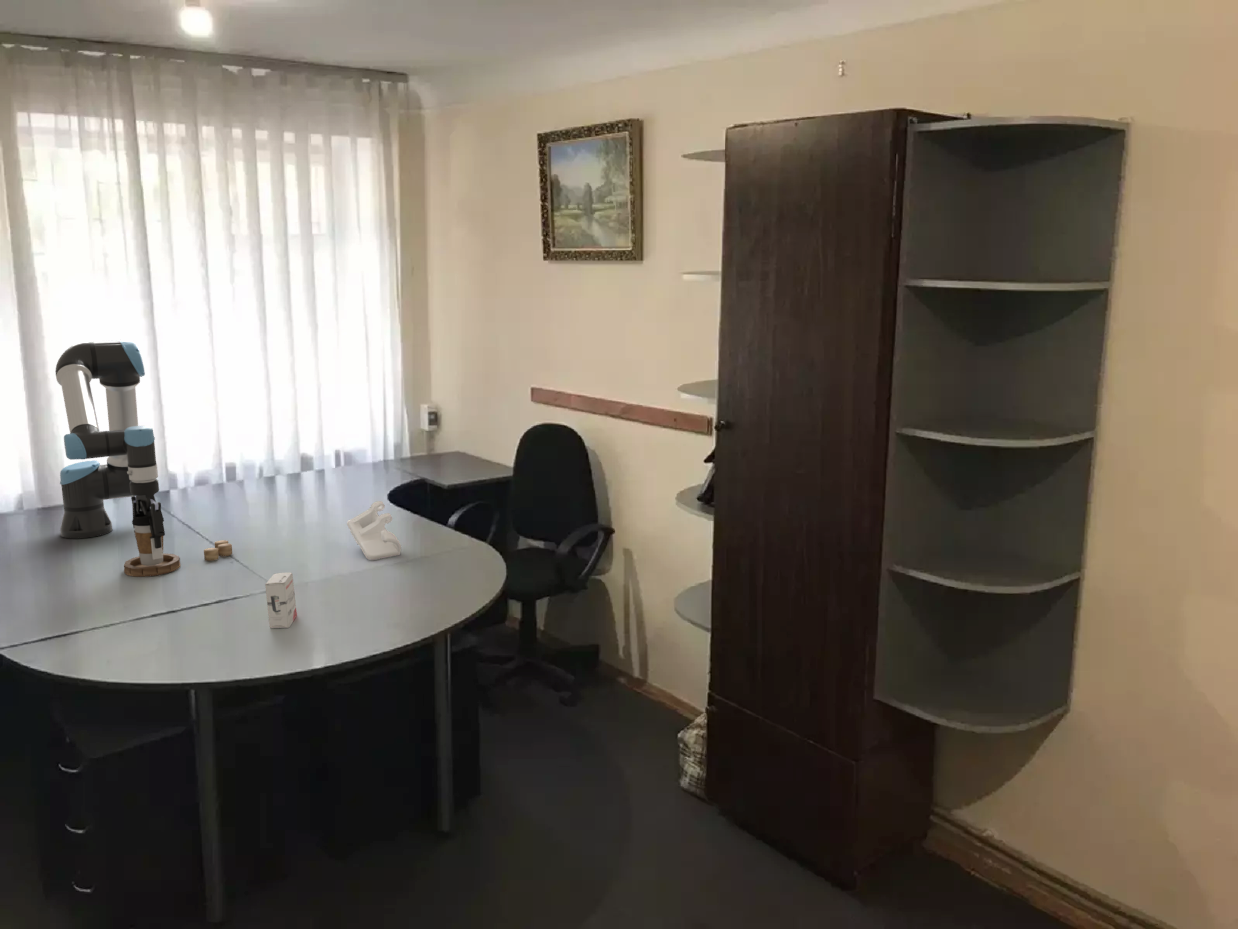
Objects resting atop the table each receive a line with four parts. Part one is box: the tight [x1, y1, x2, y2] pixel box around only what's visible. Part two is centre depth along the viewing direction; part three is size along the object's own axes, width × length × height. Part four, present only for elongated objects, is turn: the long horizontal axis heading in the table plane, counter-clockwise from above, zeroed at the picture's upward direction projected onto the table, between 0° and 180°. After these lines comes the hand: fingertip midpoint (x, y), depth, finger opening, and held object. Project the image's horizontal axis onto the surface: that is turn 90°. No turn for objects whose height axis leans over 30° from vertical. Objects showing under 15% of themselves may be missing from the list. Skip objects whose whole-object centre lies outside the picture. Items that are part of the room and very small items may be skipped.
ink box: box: [264, 572, 298, 629], centre depth 242 cm, size 9×5×12 cm, turn 5°
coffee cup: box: [131, 511, 165, 566], centre depth 281 cm, size 8×8×15 cm
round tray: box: [123, 552, 182, 578], centre depth 283 cm, size 15×15×2 cm
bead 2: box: [214, 539, 229, 548], centre depth 300 cm, size 4×4×3 cm
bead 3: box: [218, 543, 233, 557], centre depth 297 cm, size 4×4×3 cm
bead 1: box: [203, 547, 220, 562], centre depth 293 cm, size 4×4×3 cm
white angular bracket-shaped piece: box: [346, 500, 402, 561], centre depth 301 cm, size 20×11×13 cm, turn 38°
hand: (151, 555), depth 283 cm, fingers closed on coffee cup, 8 cm apart
